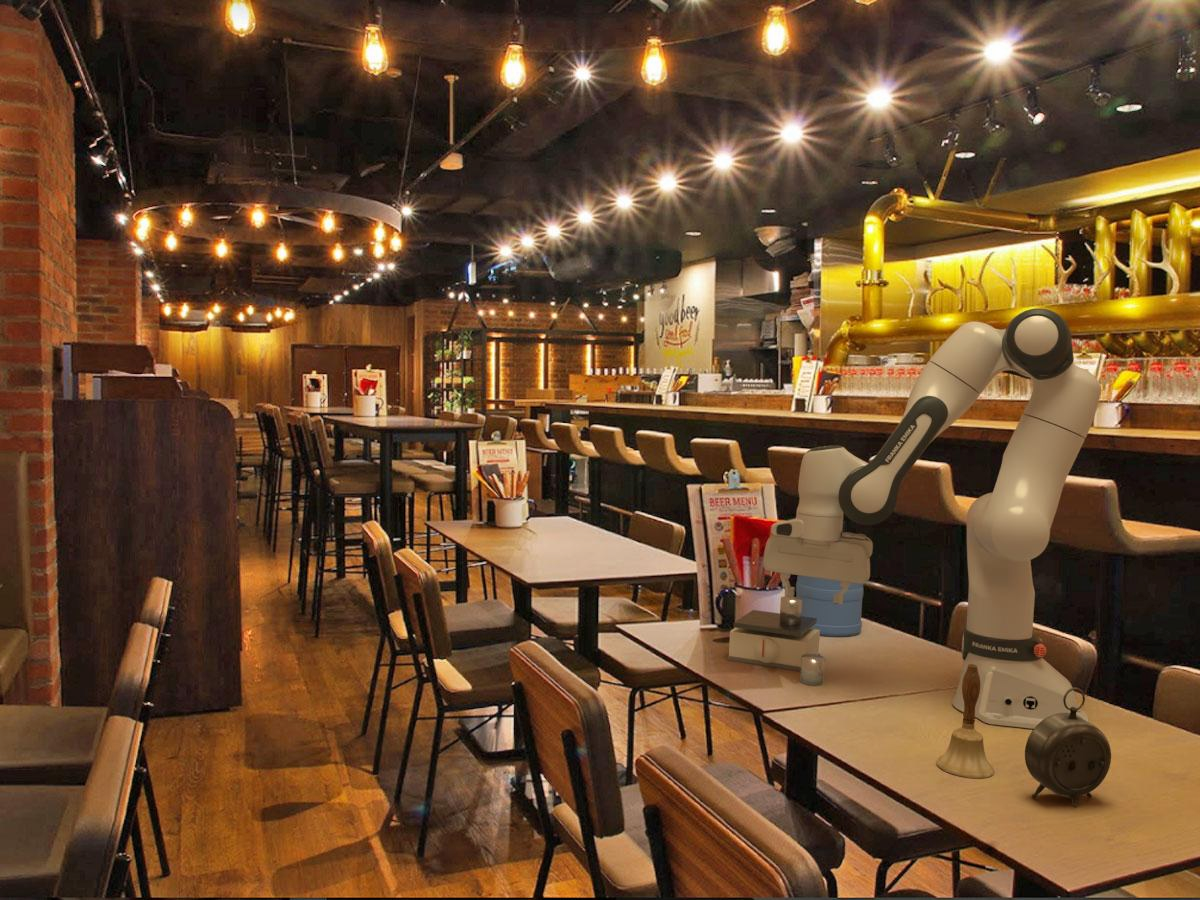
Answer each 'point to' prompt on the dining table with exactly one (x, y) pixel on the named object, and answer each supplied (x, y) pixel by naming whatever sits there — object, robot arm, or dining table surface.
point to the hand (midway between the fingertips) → (813, 600)
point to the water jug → (831, 605)
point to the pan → (773, 623)
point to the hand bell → (967, 736)
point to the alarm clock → (1067, 754)
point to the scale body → (772, 647)
